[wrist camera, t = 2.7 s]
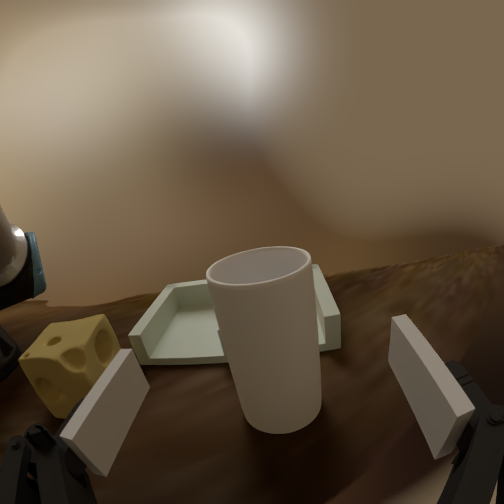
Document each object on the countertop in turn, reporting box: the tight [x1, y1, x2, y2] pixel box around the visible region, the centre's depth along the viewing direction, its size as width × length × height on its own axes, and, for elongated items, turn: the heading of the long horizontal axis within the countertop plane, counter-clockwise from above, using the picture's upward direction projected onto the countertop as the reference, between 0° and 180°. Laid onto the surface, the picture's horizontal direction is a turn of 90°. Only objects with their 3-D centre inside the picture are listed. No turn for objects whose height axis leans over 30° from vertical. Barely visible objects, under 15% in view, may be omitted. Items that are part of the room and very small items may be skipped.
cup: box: [206, 246, 321, 434], centre depth 24 cm, size 8×8×16 cm
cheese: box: [18, 314, 121, 419], centre depth 28 cm, size 10×11×10 cm
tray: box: [128, 264, 341, 365], centre depth 43 cm, size 18×28×6 cm, turn 87°
